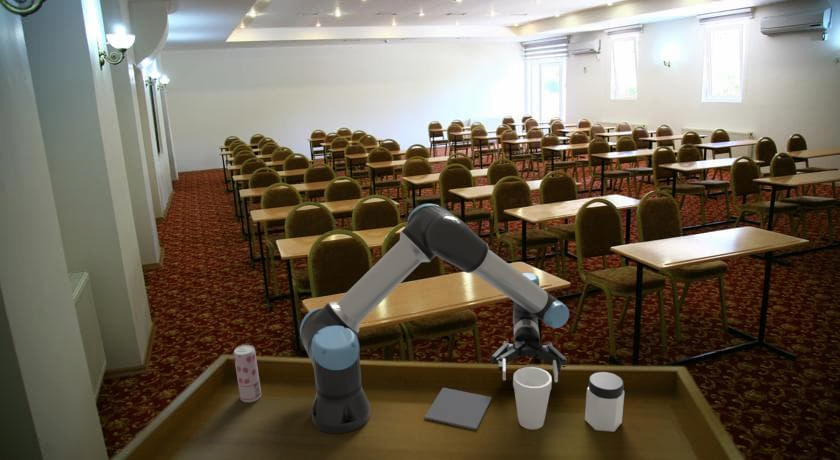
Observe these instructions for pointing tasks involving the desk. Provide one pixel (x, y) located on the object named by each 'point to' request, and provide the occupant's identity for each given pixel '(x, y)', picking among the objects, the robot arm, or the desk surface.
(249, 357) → the beverage can
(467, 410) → the charcoal mat
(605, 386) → the jar
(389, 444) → the desk surface
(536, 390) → the foam cup
